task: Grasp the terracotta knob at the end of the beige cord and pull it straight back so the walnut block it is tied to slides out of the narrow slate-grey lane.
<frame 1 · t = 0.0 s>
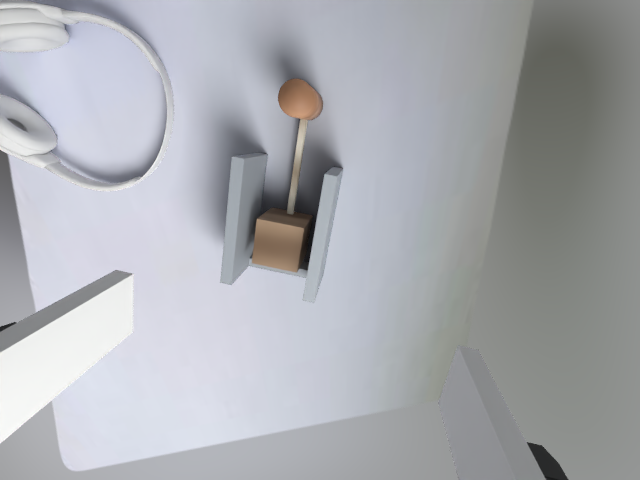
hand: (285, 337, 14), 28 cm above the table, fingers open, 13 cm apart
lane: (291, 215, 42), on the table
tethered block: (289, 231, 42), on the table
headphones: (97, 104, 41), on the table
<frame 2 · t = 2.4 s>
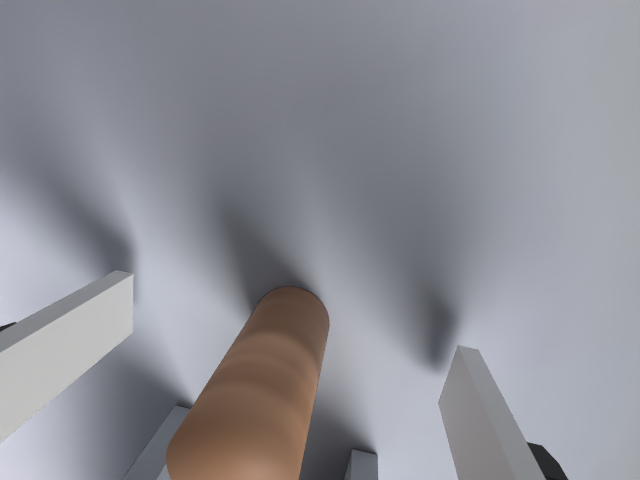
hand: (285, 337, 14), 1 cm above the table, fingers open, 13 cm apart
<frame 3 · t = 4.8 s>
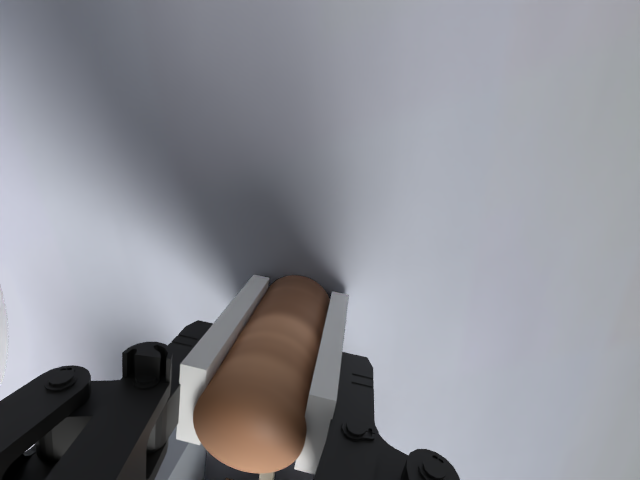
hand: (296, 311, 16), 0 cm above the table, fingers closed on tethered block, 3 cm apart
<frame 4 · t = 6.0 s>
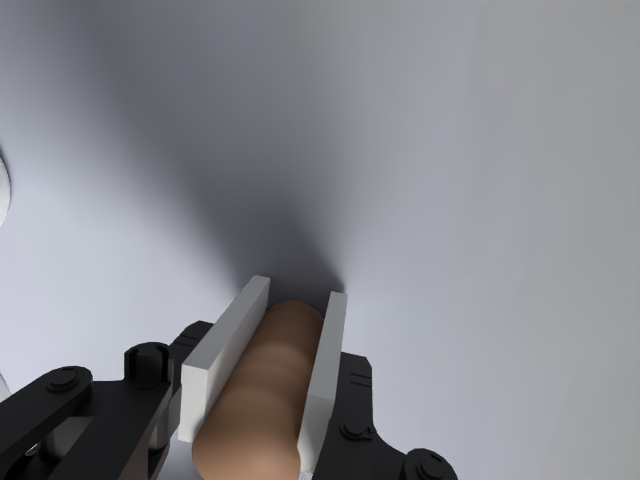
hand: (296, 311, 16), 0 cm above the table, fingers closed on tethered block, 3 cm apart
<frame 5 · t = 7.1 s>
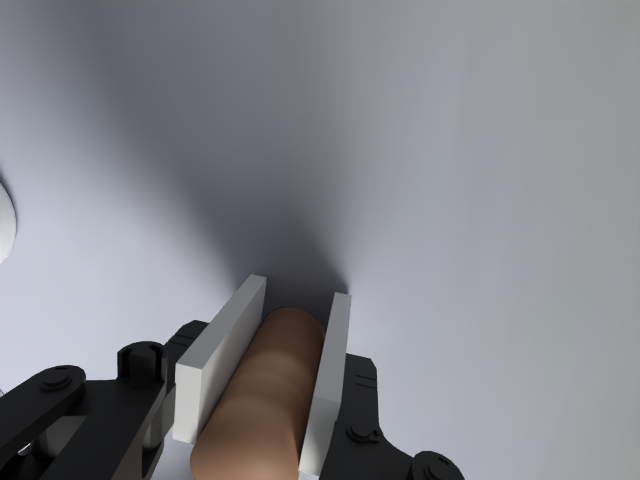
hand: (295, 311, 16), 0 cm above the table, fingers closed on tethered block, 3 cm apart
when the fingers open (0 cm above the table, at t = 7.3 s): tethered block stays where it is, on the table.
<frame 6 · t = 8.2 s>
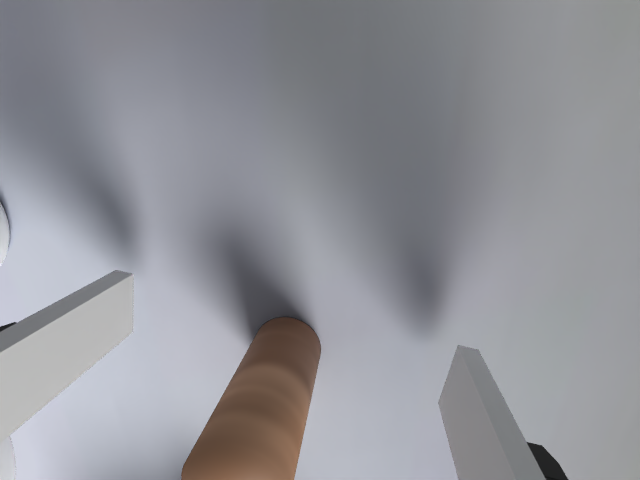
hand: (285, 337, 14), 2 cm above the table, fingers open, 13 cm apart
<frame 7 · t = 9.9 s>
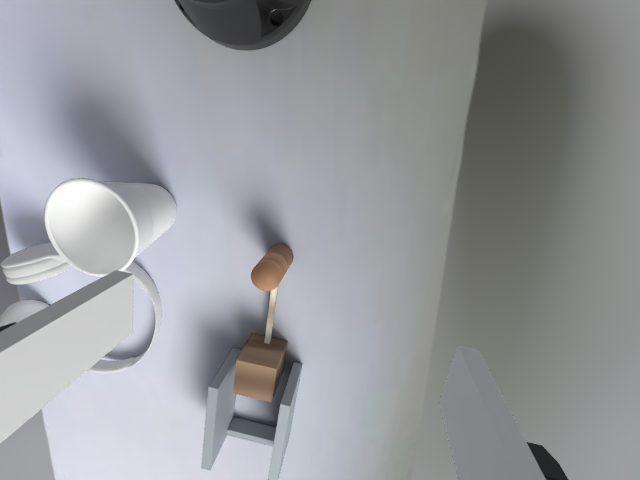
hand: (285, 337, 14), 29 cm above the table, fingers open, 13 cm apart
lane: (262, 393, 51), on the table
cup: (156, 207, 45), on the table
tethered block: (267, 352, 48), on the table
headphones: (99, 300, 50), on the table
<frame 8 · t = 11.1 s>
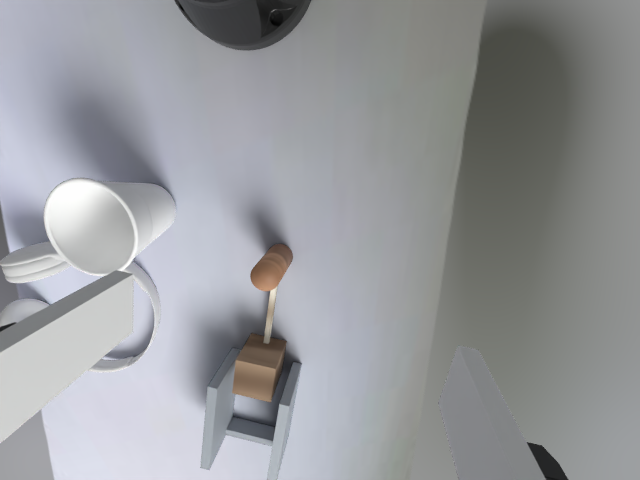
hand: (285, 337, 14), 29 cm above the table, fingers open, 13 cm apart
lane: (261, 393, 51), on the table
cup: (155, 207, 45), on the table
tethered block: (266, 352, 48), on the table
headphones: (98, 299, 50), on the table
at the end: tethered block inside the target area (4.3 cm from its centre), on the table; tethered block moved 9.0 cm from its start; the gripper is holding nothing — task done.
